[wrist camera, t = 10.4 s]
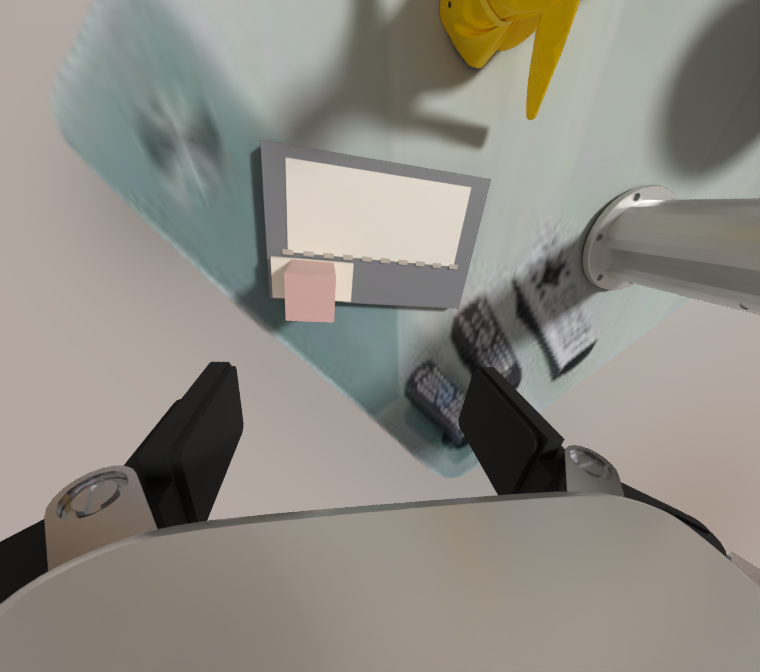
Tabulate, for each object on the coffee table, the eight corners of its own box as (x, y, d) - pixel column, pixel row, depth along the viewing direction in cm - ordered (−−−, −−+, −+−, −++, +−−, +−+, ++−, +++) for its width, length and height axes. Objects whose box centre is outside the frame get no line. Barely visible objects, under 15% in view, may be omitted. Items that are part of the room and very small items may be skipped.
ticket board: (483, 180, 29) (492, 179, 27) (453, 304, 35) (459, 309, 33) (263, 143, 24) (259, 139, 23) (271, 294, 30) (269, 299, 28)
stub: (352, 263, 28) (360, 278, 22) (350, 299, 30) (356, 323, 24) (272, 256, 26) (256, 271, 20) (273, 295, 28) (260, 319, 22)
